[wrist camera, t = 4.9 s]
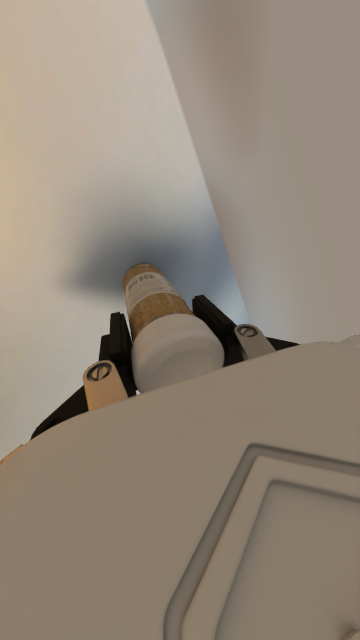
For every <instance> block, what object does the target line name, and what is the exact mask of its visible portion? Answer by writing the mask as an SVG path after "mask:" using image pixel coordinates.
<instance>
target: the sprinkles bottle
mask: <svg viewBox="0 0 360 640" xmlns="http://www.w3.org/2000/svg"><path fill="white" fill-rule="evenodd" d="M123 287H124V290H125V293H126V305H127V313H128V318H129V324H130V329H131V337H132V342H133V344H132V348H131V363H132V371H133V377H134V382H135V385H136V387H137V389H138V391H139V392H140V393H141V394H142V393H145V392H148V391H151V390H154V389H157V388H160V387H163V386H166V385H170V384H173V383H176V382H179V381H182V380H185V379H188V378H192V377H195V376H198V375H201V374H204V373H207V372H211V371H214V370H217V369H220V368H222V367H223V364H224V349H223V347H222V344H221V342H220V341H219V340H218V338H217V337H216V336H215V334H214V333H213V332H212V331H211V330H210V328H209V327H208V326H207V325H206V324H205V323H204V322H203V321H202V320H201V319H199V318H197V317H196V316H195V315H194V314H193V313H192V311H191V310H190V309H189V307H188V306H187V304H186V303H185V301H184V300H183V299H182V298H181V296H180V295H179V294H178V293H177V291H176V290H175V289H174V288H173V286H172V285H171V284H170V283H169V282H168V280H167V279H166V278H165V277H164V276H163V274H162V272H161V271H160V270H159V269H158V268H156V267H155V266H153V265H150V264H139V265H136V266H134V267H132V268H131V269H130V270H129V271H128V272H127V273H126V275H125V277H124V281H123Z"/></svg>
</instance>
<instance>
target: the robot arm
mask: <svg viewBox="0 0 360 640" xmlns="http://www.w3.org/2000/svg"><path fill="white" fill-rule="evenodd" d="M192 306H193V314H194V315H195V316H196V317H197V318H199V319H201V320H202V321H203V322H204V323H205V324H206V325H207V326H208V327H209V328H210V330H211V331H212V332H213V333H214V334H215V336H216V337H217V338H218V340H219V341H220V342H221V344H222V347H223V349H224V364H223V367H222V368H220V369H217V370H214V371H211V372H207V373H204V374H201V375H198V376H195V377H192V378H188V379H185V380H182V381H179V382H176V383H173V384H170V385H166V386H163V387H160V388H157V389H154V390H151V391H148V392H145V393H142V394H139V395H136V390H138V389H137V387H136V385H135V382H134V377H133V371H132V363H131V348H132V340H131V337H130V334H129V330H128V327H127V323H126V320H125V316H124V313H123V314H120V312H117V313H112V314H111V319H110V334H108V335H104V336H102V337H101V345H100V354H99V362H96V363H94V364H92V365H91V366H90V367H88V368H87V370H86V371H85V373H84V375H83V381H84V385H83V386H82V387H81V388H80V389H79V390H77V391H76V392H75V393H74V394H73V395H72V396H71V397H70V398H69V399H67V400H66V401H65V402H64V403H63V404H62V405H61V406H60V407H59V408H57V409H56V410H55V411H54V412H53V413H52V414H51V415H50V416H49V417H47V418H46V419H45V420H44V421H43V422H42V423H41V424H40V425H39V426H38V427H37V428H36V430H35V431H34V433H33V434H32V437H31V439H30V441H29V442H27V443H26V444H25V445H22V444H21V445H20V446H19V447H18V448H16V449H15V450H14V451H13V452H11V453H10V454H9V455H7V456H6V457H5V458H4V459H2V460H1V461H0V640H360V348H357V347H355V346H352V345H350V344H346V343H340V342H312V343H306V344H297V343H293V342H288V341H283V340H278V339H274V338H268V337H265V336H264V335H263V334H262V332H261V331H260V330H259V329H258V328H257V327H255V326H253V325H250V324H240V325H236V324H235V323H233V321H232V320H230V319H229V318H228V317H227V316H226V315H225V314H224V313H223V312H222V311H220V310H219V309H218V308H217V307H216V306H215V305H214V304H213V303H212V302H210V301H209V300H208V299H207V298H206V297H205V296H204V295H199V296H195V298H194V299H192Z"/></svg>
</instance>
